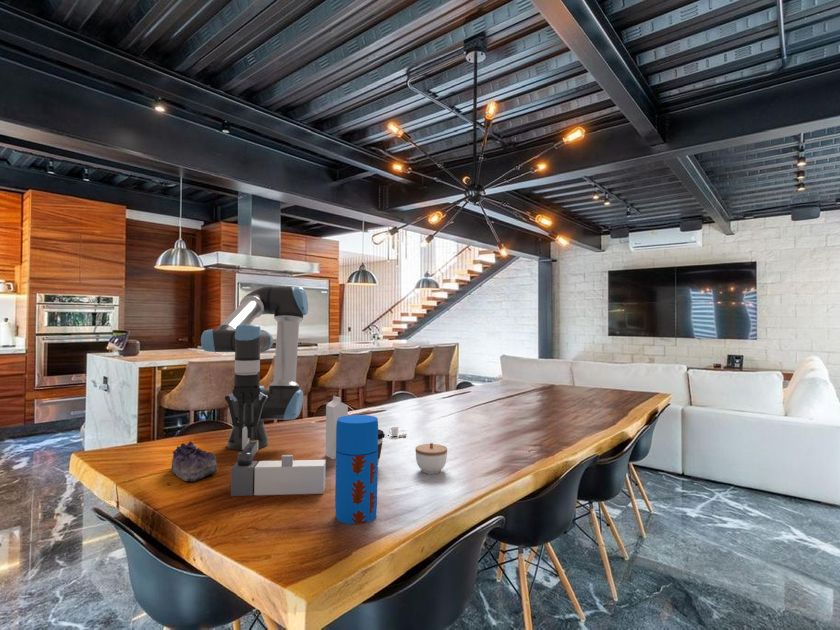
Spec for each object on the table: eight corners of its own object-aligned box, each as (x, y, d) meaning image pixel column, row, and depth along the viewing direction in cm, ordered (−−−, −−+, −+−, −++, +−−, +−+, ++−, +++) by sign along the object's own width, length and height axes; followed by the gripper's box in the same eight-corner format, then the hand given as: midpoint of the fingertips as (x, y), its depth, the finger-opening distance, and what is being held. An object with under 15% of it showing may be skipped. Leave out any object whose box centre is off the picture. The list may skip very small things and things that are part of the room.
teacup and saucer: (409, 436, 204) (409, 427, 204) (398, 440, 197) (398, 431, 197) (392, 434, 208) (393, 425, 208) (382, 437, 202) (382, 428, 202)
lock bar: (260, 449, 150) (260, 439, 151) (250, 465, 134) (250, 454, 134) (247, 449, 150) (247, 440, 150) (236, 465, 134) (236, 455, 134)
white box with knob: (236, 488, 138) (237, 451, 139) (325, 486, 141) (325, 449, 141) (230, 495, 132) (231, 457, 133) (323, 493, 135) (323, 455, 135)
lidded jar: (424, 478, 149) (424, 449, 150) (409, 468, 159) (410, 441, 159) (453, 473, 154) (453, 445, 154) (437, 464, 164) (437, 437, 164)
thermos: (337, 507, 125) (338, 414, 126) (377, 506, 126) (378, 414, 126) (333, 525, 114) (334, 423, 115) (376, 524, 115) (378, 423, 116)
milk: (332, 459, 168) (333, 398, 168) (325, 455, 173) (325, 396, 173) (347, 456, 172) (348, 397, 172) (340, 452, 176) (340, 394, 176)
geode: (156, 472, 153) (161, 440, 154) (192, 468, 161) (196, 439, 163) (183, 484, 140) (187, 450, 141) (220, 479, 148) (224, 447, 150)
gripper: (270, 372, 151) (269, 445, 151) (229, 371, 150) (228, 445, 149) (265, 374, 144) (263, 451, 143) (221, 374, 142) (220, 451, 142)
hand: (245, 448), depth 146 cm, fingers closed
